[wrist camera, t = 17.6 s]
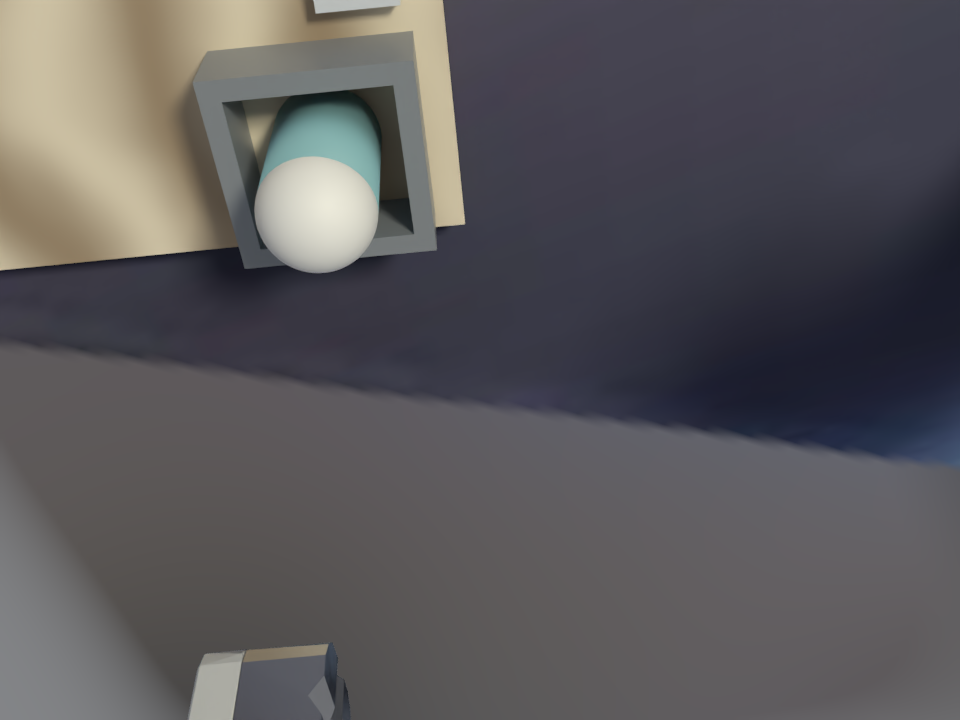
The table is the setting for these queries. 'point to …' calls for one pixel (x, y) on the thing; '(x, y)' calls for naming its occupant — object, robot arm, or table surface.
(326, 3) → the plank
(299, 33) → the board
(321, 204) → the capsule
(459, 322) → the table surface
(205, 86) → the frame
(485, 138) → the table surface
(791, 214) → the table surface
